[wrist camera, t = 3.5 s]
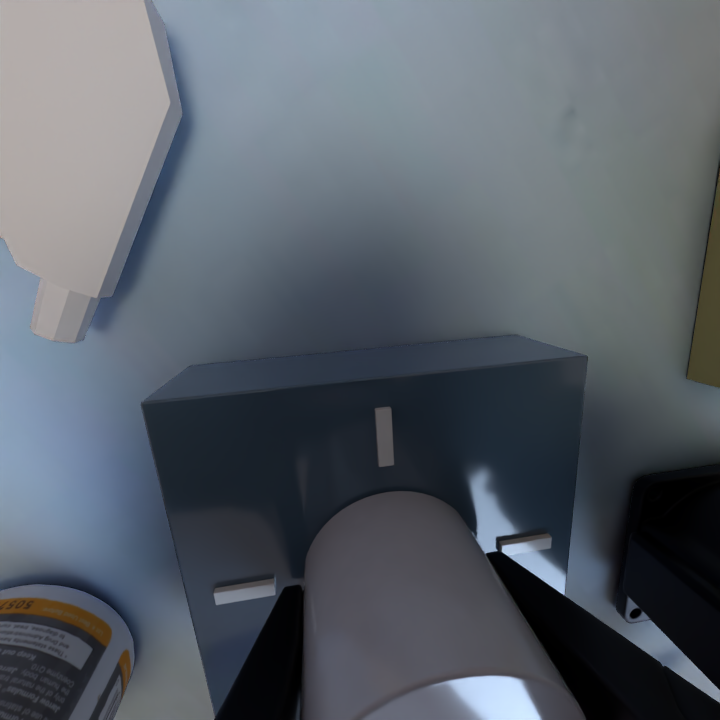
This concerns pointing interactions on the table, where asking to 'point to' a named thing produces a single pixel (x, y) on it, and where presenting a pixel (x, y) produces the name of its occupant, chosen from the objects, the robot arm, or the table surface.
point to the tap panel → (357, 463)
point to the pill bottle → (61, 655)
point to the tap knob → (417, 623)
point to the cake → (708, 311)
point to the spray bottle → (80, 145)
